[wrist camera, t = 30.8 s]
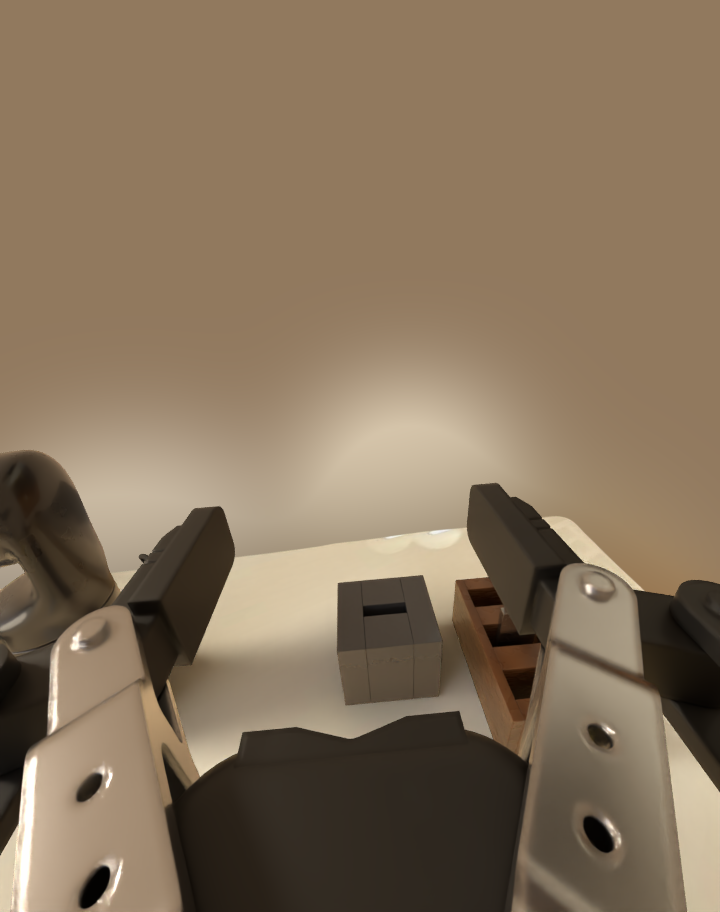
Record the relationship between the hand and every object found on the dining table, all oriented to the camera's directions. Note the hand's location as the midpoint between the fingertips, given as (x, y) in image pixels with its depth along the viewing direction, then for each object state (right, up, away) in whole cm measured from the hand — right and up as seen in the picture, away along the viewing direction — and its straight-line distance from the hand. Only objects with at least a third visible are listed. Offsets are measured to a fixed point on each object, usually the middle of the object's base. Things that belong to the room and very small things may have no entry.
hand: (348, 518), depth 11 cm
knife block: (+4, -25, +31) cm, 40 cm away
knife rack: (+18, -25, +29) cm, 42 cm away
